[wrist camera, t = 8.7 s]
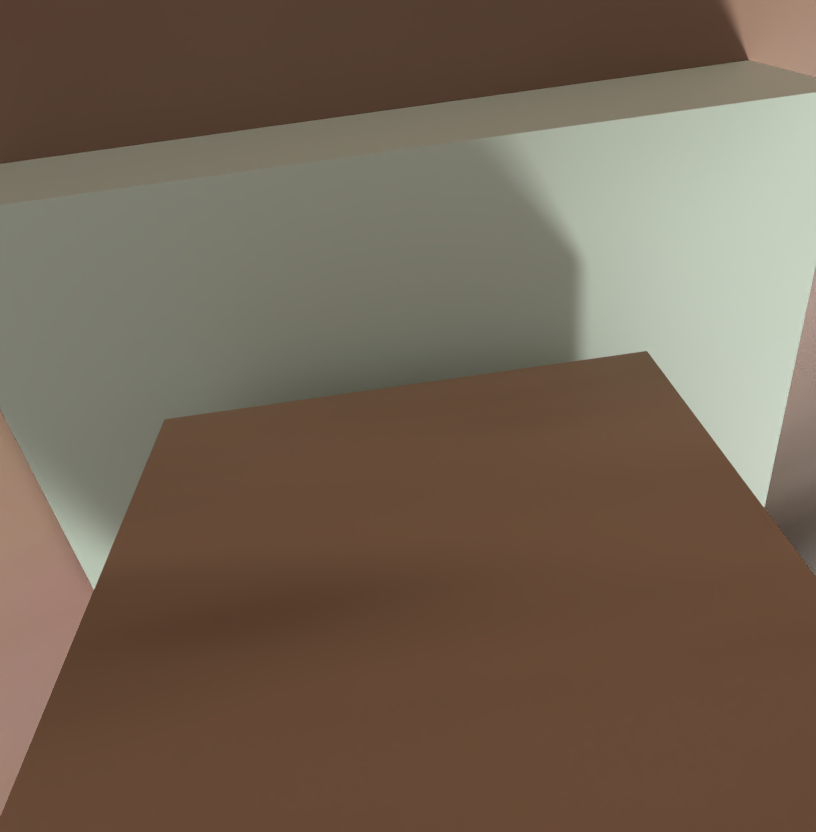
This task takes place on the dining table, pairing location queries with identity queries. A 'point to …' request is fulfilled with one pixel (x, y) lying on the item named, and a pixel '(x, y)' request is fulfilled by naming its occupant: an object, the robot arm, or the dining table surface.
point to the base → (408, 265)
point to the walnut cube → (439, 624)
